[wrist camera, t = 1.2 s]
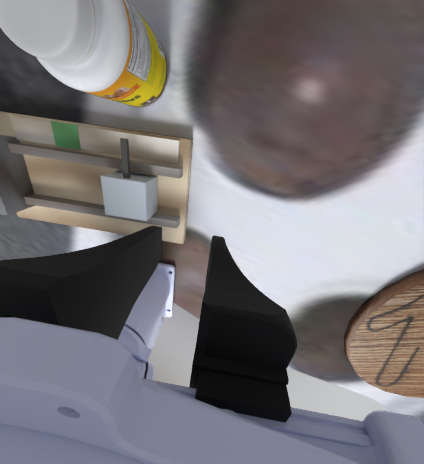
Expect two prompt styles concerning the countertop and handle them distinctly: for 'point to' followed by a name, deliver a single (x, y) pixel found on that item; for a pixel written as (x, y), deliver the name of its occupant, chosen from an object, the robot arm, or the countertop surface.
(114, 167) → the gauge base
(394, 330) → the trivet
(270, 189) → the countertop surface
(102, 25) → the supplement bottle
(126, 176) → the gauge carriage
